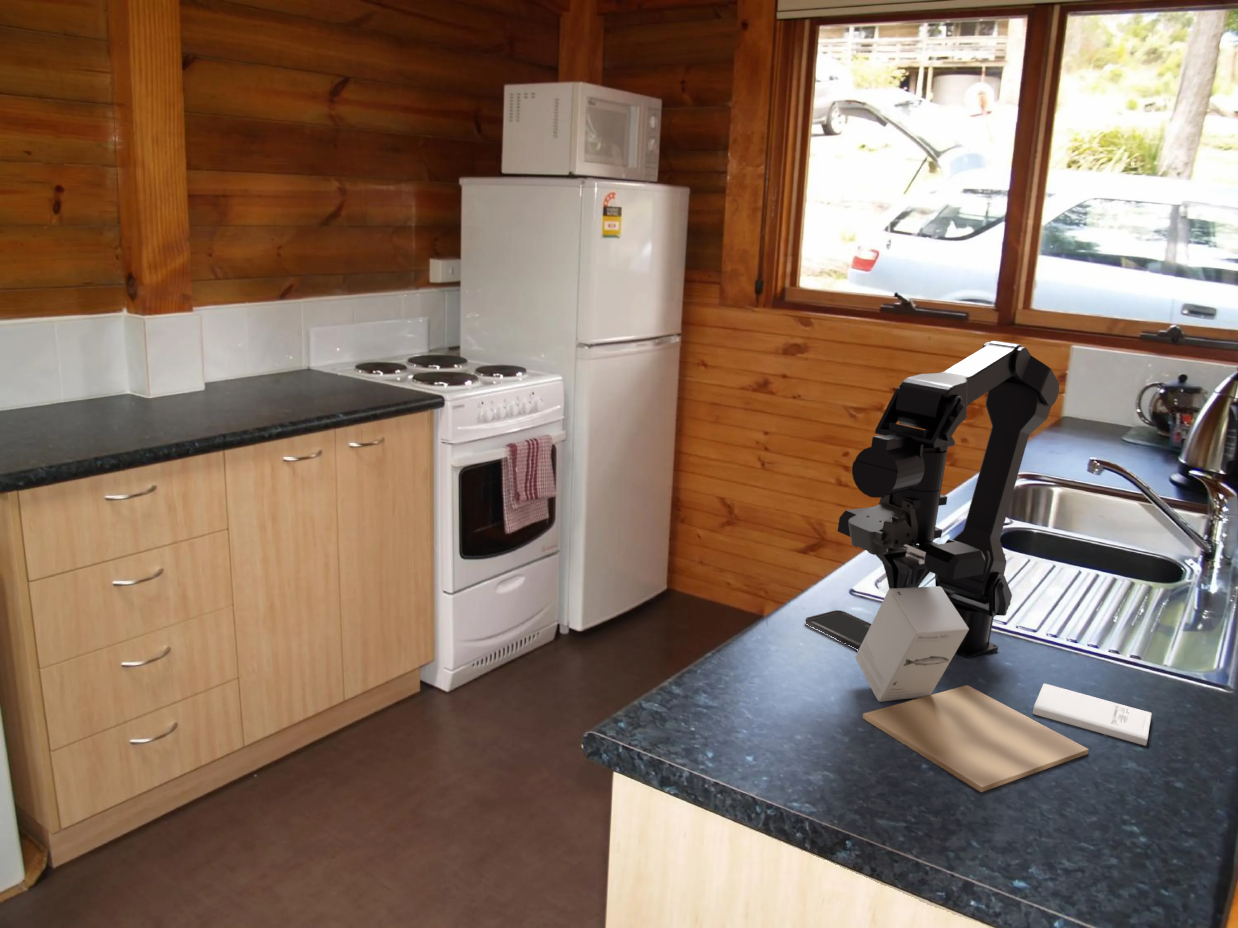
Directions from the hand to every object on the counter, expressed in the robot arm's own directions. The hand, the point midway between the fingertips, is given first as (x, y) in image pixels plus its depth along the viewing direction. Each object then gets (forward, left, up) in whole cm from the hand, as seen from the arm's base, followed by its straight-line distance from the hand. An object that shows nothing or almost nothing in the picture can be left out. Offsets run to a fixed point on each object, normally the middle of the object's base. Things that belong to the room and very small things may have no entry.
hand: (898, 607), depth 125 cm
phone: (-8, -13, -11) cm, 19 cm away
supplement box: (0, +1, -9) cm, 9 cm away
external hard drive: (-18, +16, -11) cm, 27 cm away
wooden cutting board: (0, +13, -11) cm, 17 cm away
